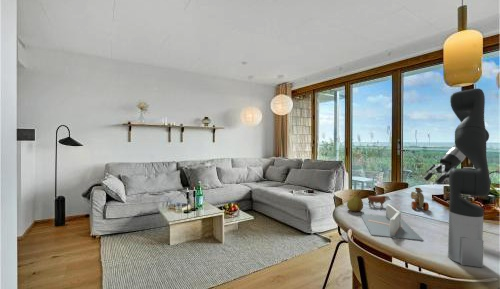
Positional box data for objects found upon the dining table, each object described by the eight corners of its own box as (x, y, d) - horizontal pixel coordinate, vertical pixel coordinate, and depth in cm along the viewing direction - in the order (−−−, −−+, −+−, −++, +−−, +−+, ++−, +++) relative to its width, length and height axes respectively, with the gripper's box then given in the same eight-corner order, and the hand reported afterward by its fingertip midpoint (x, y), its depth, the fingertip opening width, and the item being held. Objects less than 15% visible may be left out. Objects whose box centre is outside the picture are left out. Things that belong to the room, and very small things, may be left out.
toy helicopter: (413, 210, 149) (414, 188, 149) (405, 202, 169) (405, 182, 168) (429, 211, 146) (430, 189, 146) (418, 203, 166) (419, 183, 166)
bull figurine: (391, 208, 153) (391, 195, 153) (368, 207, 156) (368, 194, 156) (388, 206, 157) (388, 194, 157) (366, 205, 160) (366, 193, 160)
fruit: (344, 209, 150) (344, 190, 150) (355, 208, 153) (355, 189, 153) (354, 213, 142) (354, 193, 142) (366, 212, 145) (366, 192, 145)
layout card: (423, 241, 104) (423, 239, 104) (371, 235, 110) (371, 234, 110) (400, 217, 135) (400, 217, 135) (360, 214, 140) (360, 213, 140)
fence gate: (399, 225, 121) (399, 211, 121) (395, 224, 121) (395, 211, 121) (389, 216, 135) (389, 204, 135) (385, 216, 135) (385, 203, 135)
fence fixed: (396, 226, 121) (396, 211, 121) (401, 227, 120) (401, 212, 120) (389, 236, 109) (389, 219, 109) (394, 237, 108) (394, 220, 108)
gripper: (436, 152, 131) (416, 173, 131) (461, 153, 117) (438, 178, 116) (445, 161, 132) (425, 183, 131) (471, 164, 117) (448, 188, 117)
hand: (431, 180), depth 124 cm, fingers open, 7 cm apart
